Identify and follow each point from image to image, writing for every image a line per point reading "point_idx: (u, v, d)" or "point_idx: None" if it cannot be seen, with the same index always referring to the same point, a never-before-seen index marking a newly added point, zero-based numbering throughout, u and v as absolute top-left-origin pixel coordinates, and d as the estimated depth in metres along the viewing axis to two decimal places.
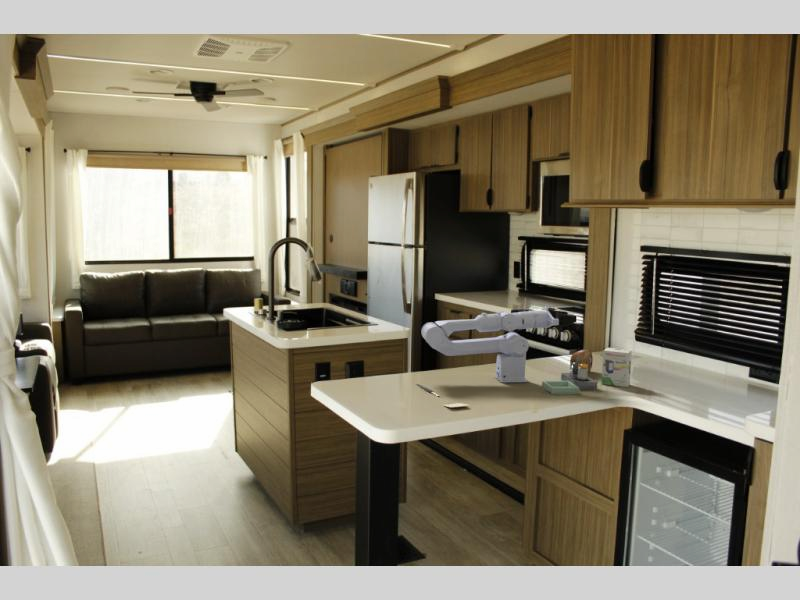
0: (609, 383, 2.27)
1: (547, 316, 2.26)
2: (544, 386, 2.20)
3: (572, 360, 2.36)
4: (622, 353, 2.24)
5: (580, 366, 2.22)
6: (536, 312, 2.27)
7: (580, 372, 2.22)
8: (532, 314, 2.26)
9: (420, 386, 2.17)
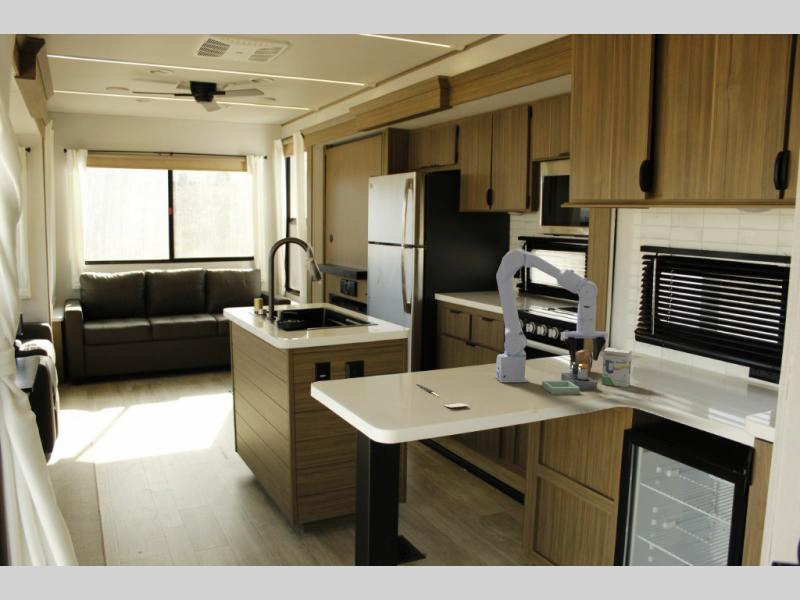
0: (609, 383, 2.27)
1: (579, 332, 2.20)
2: (544, 386, 2.20)
3: None
4: (622, 353, 2.24)
5: (580, 366, 2.22)
6: (586, 323, 2.18)
7: (580, 372, 2.22)
8: (592, 318, 2.18)
9: (420, 386, 2.17)
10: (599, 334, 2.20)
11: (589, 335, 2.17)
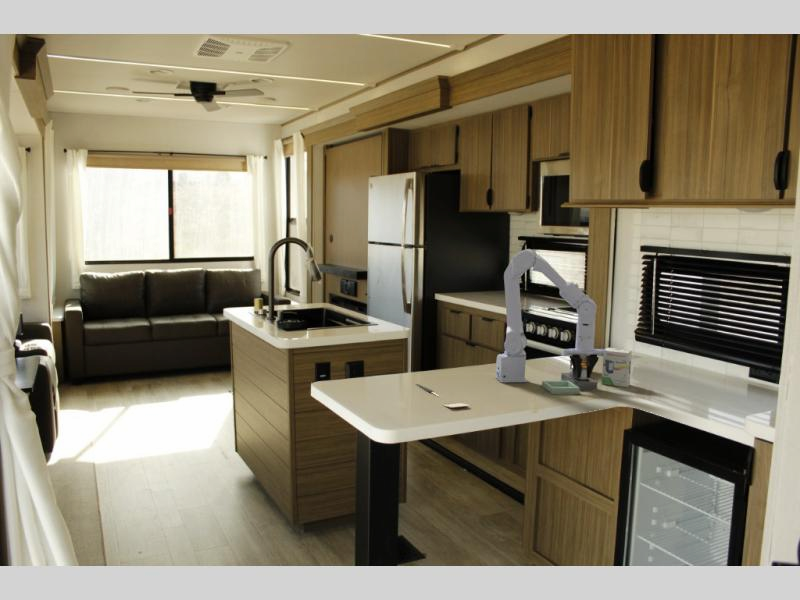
0: (609, 383, 2.27)
1: (578, 349, 2.20)
2: (544, 386, 2.20)
3: None
4: (622, 353, 2.24)
5: None
6: (584, 340, 2.19)
7: (580, 372, 2.22)
8: (591, 335, 2.19)
9: (420, 386, 2.17)
10: (598, 352, 2.21)
11: (588, 353, 2.18)
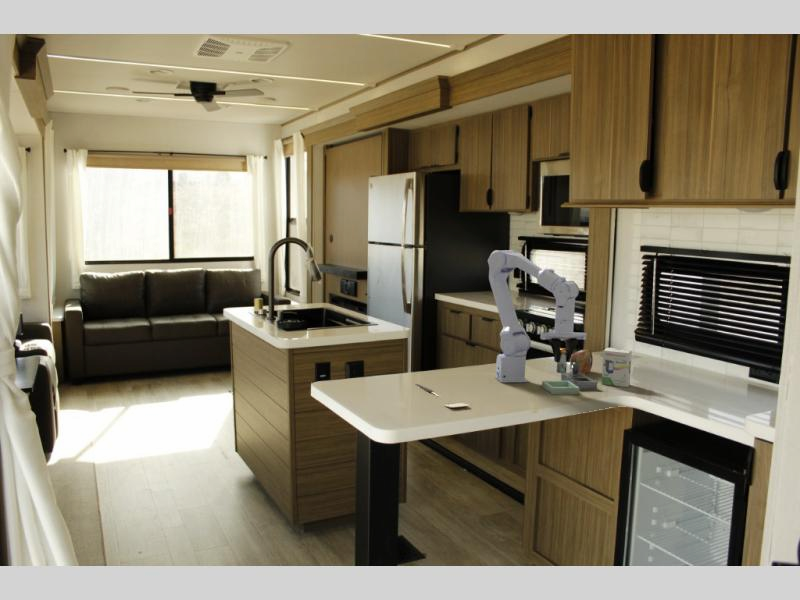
0: (609, 383, 2.27)
1: (557, 333, 2.14)
2: (544, 386, 2.20)
3: (572, 360, 2.36)
4: (622, 353, 2.24)
5: None
6: (563, 323, 2.13)
7: (559, 356, 2.16)
8: (567, 318, 2.13)
9: (420, 386, 2.17)
10: (577, 335, 2.15)
11: (567, 336, 2.12)
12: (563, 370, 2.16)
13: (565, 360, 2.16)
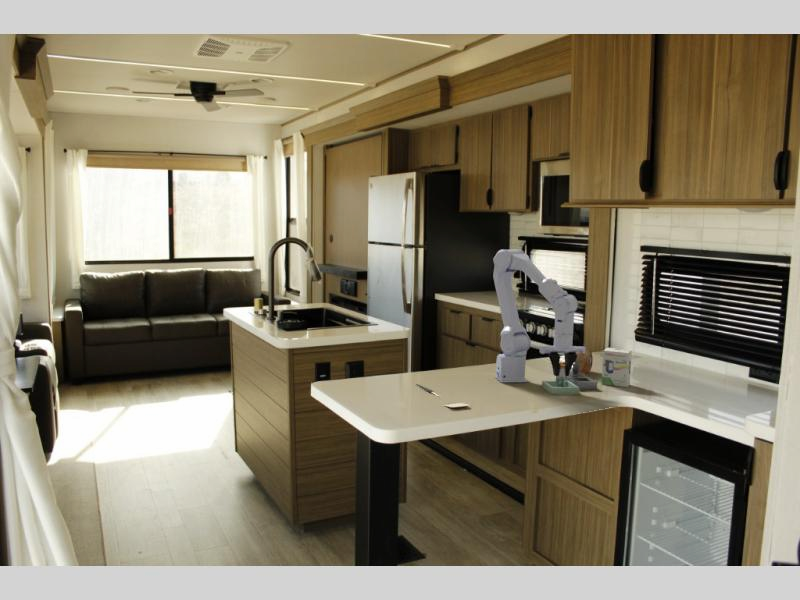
0: (609, 383, 2.27)
1: (556, 347, 2.15)
2: (544, 386, 2.20)
3: None
4: (622, 353, 2.24)
5: None
6: (562, 337, 2.13)
7: (558, 370, 2.17)
8: (566, 332, 2.13)
9: (420, 386, 2.17)
10: (576, 349, 2.15)
11: (566, 350, 2.13)
12: (562, 384, 2.17)
13: (564, 374, 2.17)
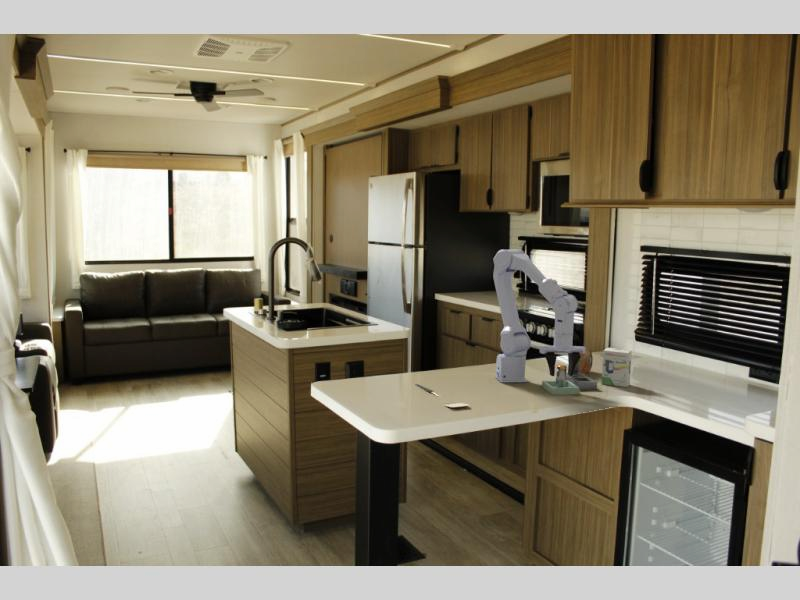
0: (609, 383, 2.27)
1: (556, 347, 2.15)
2: (544, 386, 2.20)
3: None
4: (622, 353, 2.24)
5: (558, 367, 2.17)
6: (562, 337, 2.13)
7: (558, 373, 2.17)
8: (566, 332, 2.13)
9: (420, 386, 2.17)
10: (576, 349, 2.15)
11: (566, 350, 2.13)
12: None
13: (564, 377, 2.17)
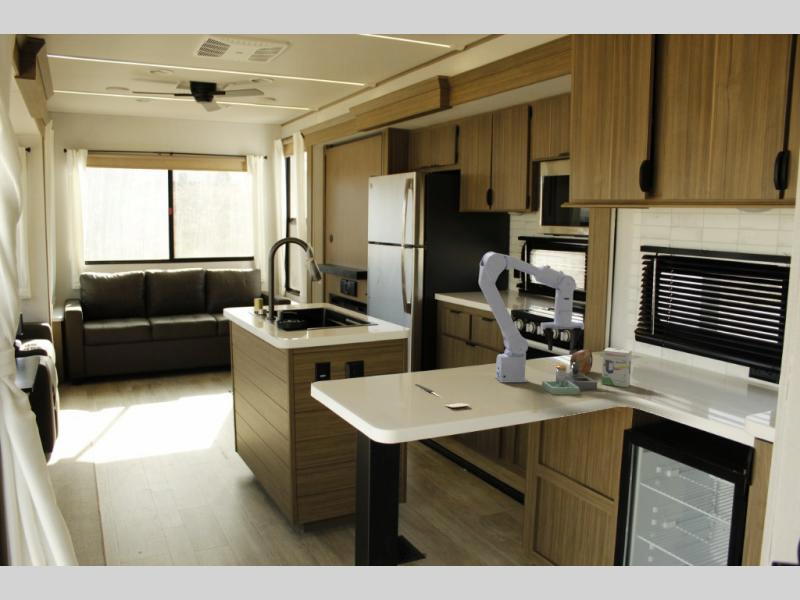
0: (609, 383, 2.27)
1: (556, 323, 2.28)
2: (544, 386, 2.20)
3: (572, 360, 2.36)
4: (622, 353, 2.24)
5: (558, 367, 2.17)
6: (562, 314, 2.26)
7: (558, 373, 2.17)
8: (571, 309, 2.27)
9: (420, 386, 2.17)
10: (576, 325, 2.28)
11: (565, 326, 2.25)
12: None
13: (564, 377, 2.17)
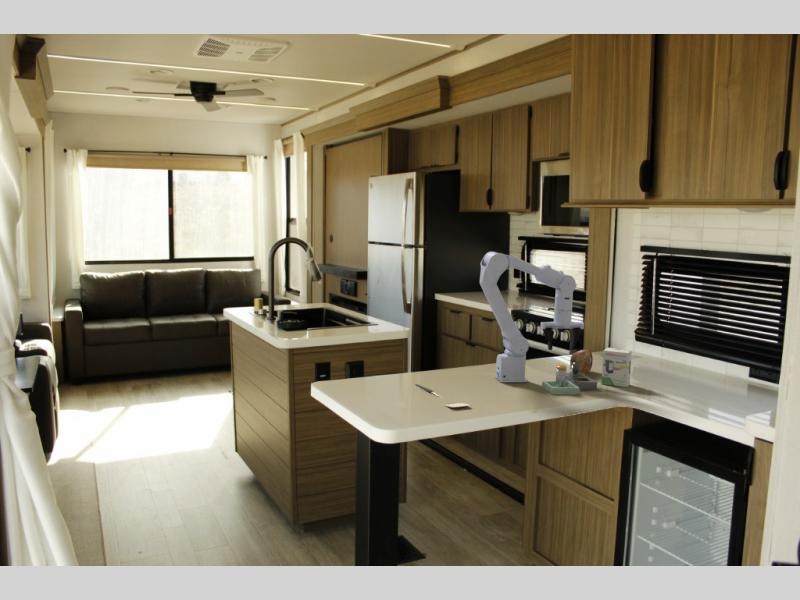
0: (609, 383, 2.27)
1: (556, 322, 2.29)
2: (544, 386, 2.20)
3: (572, 360, 2.36)
4: (622, 353, 2.24)
5: (558, 367, 2.17)
6: (562, 313, 2.27)
7: (558, 373, 2.17)
8: (571, 308, 2.28)
9: (419, 386, 2.17)
10: (575, 324, 2.29)
11: (565, 325, 2.26)
12: None
13: (564, 377, 2.17)
